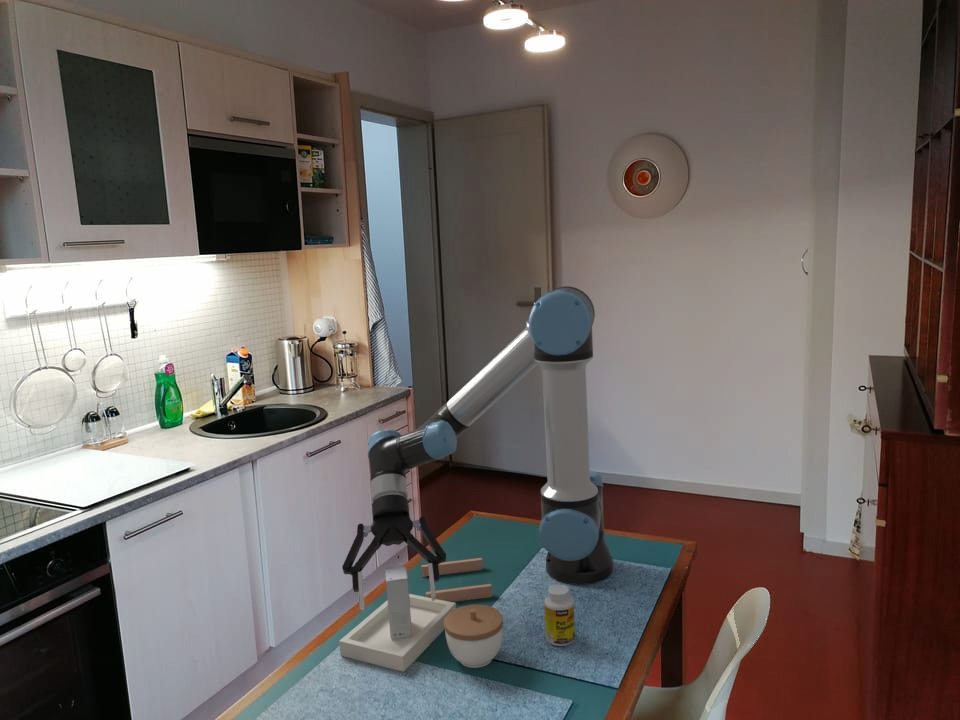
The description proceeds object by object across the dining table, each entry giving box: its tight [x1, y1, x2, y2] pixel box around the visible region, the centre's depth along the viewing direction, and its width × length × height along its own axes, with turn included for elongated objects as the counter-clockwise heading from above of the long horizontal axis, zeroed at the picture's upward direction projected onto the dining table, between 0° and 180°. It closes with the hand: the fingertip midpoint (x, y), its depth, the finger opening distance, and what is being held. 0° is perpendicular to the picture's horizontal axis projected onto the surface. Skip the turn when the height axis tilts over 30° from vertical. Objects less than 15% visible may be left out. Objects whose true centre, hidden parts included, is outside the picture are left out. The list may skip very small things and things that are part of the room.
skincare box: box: [385, 565, 412, 639], centre depth 137 cm, size 6×4×12 cm
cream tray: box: [338, 593, 457, 673], centre depth 138 cm, size 20×14×3 cm
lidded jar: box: [444, 604, 504, 669], centre depth 128 cm, size 11×11×9 cm
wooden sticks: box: [421, 557, 493, 603], centre depth 157 cm, size 14×14×2 cm
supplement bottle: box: [543, 584, 576, 647], centre depth 133 cm, size 6×6×10 cm
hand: (398, 603), depth 135 cm, fingers open, 13 cm apart
